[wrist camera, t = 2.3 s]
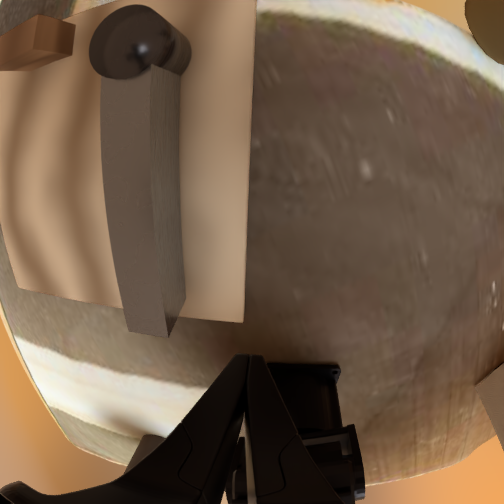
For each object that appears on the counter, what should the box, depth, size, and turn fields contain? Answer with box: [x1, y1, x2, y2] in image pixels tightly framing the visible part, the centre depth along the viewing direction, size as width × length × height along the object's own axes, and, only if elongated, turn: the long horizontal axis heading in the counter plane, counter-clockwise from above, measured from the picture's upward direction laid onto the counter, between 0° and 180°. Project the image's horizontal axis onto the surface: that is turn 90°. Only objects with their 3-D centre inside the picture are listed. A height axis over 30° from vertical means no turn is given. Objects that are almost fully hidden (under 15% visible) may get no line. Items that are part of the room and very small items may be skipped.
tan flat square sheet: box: [0, 0, 257, 323], centre depth 16 cm, size 22×22×1 cm
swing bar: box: [89, 4, 192, 338], centre depth 13 cm, size 17×4×4 cm, turn 178°
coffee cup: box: [124, 435, 166, 474], centre depth 28 cm, size 8×8×10 cm
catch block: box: [0, 14, 76, 71], centre depth 11 cm, size 4×2×4 cm, turn 88°
